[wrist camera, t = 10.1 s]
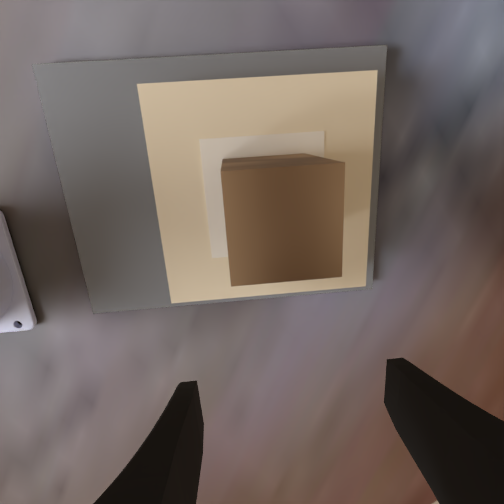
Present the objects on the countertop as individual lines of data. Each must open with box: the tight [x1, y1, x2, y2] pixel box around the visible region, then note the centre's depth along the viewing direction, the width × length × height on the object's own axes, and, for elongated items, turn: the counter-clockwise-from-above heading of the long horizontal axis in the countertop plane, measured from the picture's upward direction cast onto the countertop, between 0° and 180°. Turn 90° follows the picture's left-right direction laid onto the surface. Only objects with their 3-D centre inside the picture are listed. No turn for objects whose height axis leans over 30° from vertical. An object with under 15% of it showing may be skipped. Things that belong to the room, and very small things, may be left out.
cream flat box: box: [32, 45, 387, 314], centre depth 19 cm, size 18×14×4 cm
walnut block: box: [220, 153, 345, 287], centre depth 14 cm, size 4×4×6 cm
